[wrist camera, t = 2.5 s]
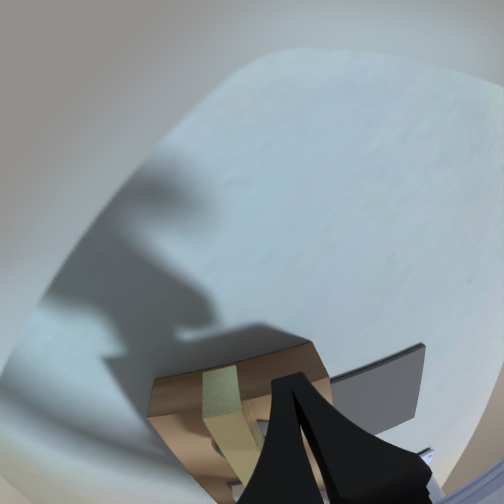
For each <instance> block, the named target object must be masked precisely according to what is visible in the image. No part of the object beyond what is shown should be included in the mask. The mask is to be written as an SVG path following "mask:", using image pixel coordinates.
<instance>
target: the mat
mask: <svg viewBox="0 0 504 504" xmlns="http://www.w3.org/2000/svg"><path fill="white" fill-rule="evenodd" d="M425 349H426V346H425V345H424V344H422V345H420V346H418V347H416V348H414V349H411V350H409V351H407V352H405V353H402V354H400V355H398V356H395V357H393V358H390V359H388V360H386V361H383V362H381V363H378V364H376V365H373V366H371V367H368V368H365V369H363V370H360V371H357V372H355V373H352V374H349V375H346V376H344V377H341V378H338V379H335V380H332V381H330V386H331V395H332V404H333V407H334V408H335V409H337V410H338V411H339V412H340V413H341V414H343V415H344V416H345V417H346V418H348V419H349V420H350V421H352V422H353V423H354V424H356V425H357V426H359V427H360V428H362V429H364V430H365V431H367V432H368V433H370V434H372V435H376V434H378V433H381V432H383V431H386V430H388V429H390V428H392V427H395V426H397V425H399V424H401V423H403V422H405V421H408V420H410V419H412V418H414V416H415V411H416V406H417V401H418V395H419V390H420V384H421V378H422V371H423V364H424V357H425Z"/></svg>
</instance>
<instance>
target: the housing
mask: <svg viewBox="0 0 504 504" xmlns="http://www.w3.org/2000/svg"><path fill="white" fill-rule="evenodd" d="M234 365H236V367H237V370H238V372H239V375H240V378H241V380H242V383H243V386H244V388H245V391H246V394H247V396H248V399H249V401H250V404H251V407H252V409H253V412H254V414H255V417H256V419H257V422H258V424H259V427H260V429H261V432H262V434H263V436H264V437H266V432H267V428H268V423H269V417H270V410H271V398H272V390H271V381H272V380H273V379H276V378H280V377H283V376H287V375H290V374H294V373H297V372H303V373H304V374H305V375H306V377H307V378H308V380H309V381H310V382H311V384H312V385H313V386H314V387H315V388H316V390H317V391H318V392H319V393H320V394H321V395H322V396H323V397H324V398H325V399H326V400H327V401H328V402H329V403H330V404H331V405H332V406H333V404H332V395H331V386H330V378H329V375H328V373H327V371H326V369H325V367H324V365H323V363H322V361H321V359H320V357H319V355H318V353H317V351H316V349H315V347H314V345H313V343H312V342H309V343H305V344H302V345H299V346H295V347H292V348H288V349H285V350H281V351H278V352H274V353H271V354H267V355H263V356H259V357H256V358H252V359H248V360H244V361H240V362H236V363H232V364H227V365H223V366H219V367H214V368H210V369H205V370H201V371H196V372H191V373H186V374H181V375H176V376H171V377H165V378H160V379H154V383H153V388H152V393H151V399H150V404H149V409H148V415H147V419H148V420H149V421H150V423H151V424H152V426H153V427H154V428H155V430H156V431H157V432H158V434H159V435H160V436H161V438H162V439H163V440H164V442H165V443H166V444H167V446H168V447H169V448H170V450H171V451H172V452H173V453H174V455H175V456H176V457H177V458H178V460H179V461H180V462H181V463H182V464H183V466H184V467H185V468H186V469H187V470H188V472H189V473H190V474H191V475H192V476H193V477H194V479H195V480H196V481H197V482H198V483H199V484H200V485H201V486H202V487H203V489H204V490H205V491H206V492H207V493H208V494H209V495H210V496H211V497H212V498H213V499H214V500H215V501H216V502H217V503H218V504H236V501H235V500H234V499H233V493H232V486H234V485H240V484H243V483H242V482H241V480H240V479H239V477H238V476H237V474H236V473H235V471H234V470H233V468H232V467H231V465H230V464H229V462H228V461H227V459H226V457H225V456H224V454H223V453H222V451H221V449H220V448H219V446H218V445H217V443H216V441H215V440H214V438H213V436H212V435H211V433H210V431H209V430H208V428H207V426H206V424H205V423H204V421H203V419H202V396H203V372H208V371H212V370H217V369H221V368H226V367H230V366H234ZM300 427H301V426H300ZM301 432H302V437H303V443H304V447H305V450H306V453H307V456H308V459H309V462H310V465H311V468H312V471H313V474H314V477H315V479H316V482H317V485H318V488H319V491H323V490H326V489H325V485H324V482H323V479H322V476H321V473H320V470H319V467H318V465H317V462H316V460H315V458H314V456H313V453H312V451H311V449H310V447H309V444H308V442H307V440H306V438H305V435H304V433H303V431H302V428H301Z"/></svg>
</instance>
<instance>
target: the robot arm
mask: <svg viewBox="0 0 504 504" xmlns="http://www.w3.org/2000/svg"><path fill="white" fill-rule="evenodd" d="M271 390H272V398H271V410H270V417H269V423H268V428H267V432H266V437H265V441H264V444H263V447H262V451H261V454H260V456H259V459H258V462H257V464H256V467H255V469H254V471H253V474H252V476H251V478H250V480H249V482H248V484H247V486H246V487H245V489H244V491H243V493H242V495H241V496H240V498H239V499H238V501H237V502H236V504H324V502H323V499H322V497H321V494H320V491H319V488H318V485H317V482H316V479H315V477H314V474H313V471H312V468H311V465H310V462H309V459H308V456H307V453H306V450H305V447H304V443H303V437H302V432H301V428H302V431H303V433H304V435H305V438H306V440H307V442H308V444H309V447H310V449H311V451H312V453H313V456H314V458H315V460H316V462H317V465H318V467H319V470H320V473H321V476H322V479H323V482H324V485H325V489H326V492H327V495H328V498H329V501H330V504H504V457H502V458H501V459H500V460H499V461H497V462H496V463H495V464H493V465H492V466H491V467H489V468H488V469H487V470H485V471H484V472H482V473H481V474H480V475H478V476H477V477H476V478H474V479H472V480H471V481H469V482H468V483H466V484H465V485H463V486H462V487H460V488H459V489H457V490H456V491H454V492H452V493H450V494H449V495H447V496H445V495H444V493H443V491H442V490H441V488H440V486H439V485H438V483H437V481H436V479H435V478H434V476H433V474H432V471H431V469H430V467H429V466H428V465H429V463H430V461H431V459H432V456H433V454H434V450H433V449H431V450H429V451H427V452H425V453H423V454H421V455H418V454H416V453H413V452H410V451H407V450H404V449H402V448H399V447H397V446H394V445H392V444H390V443H387V442H385V441H383V440H381V439H380V438H378V437H376V436H374V435H372V434H370V433H368V432H367V431H365V430H364V429H362V428H360V427H359V426H357V425H356V424H354V423H353V422H352V421H350V420H349V419H348V418H346V417H345V416H344V415H343V414H341V413H340V412H339V411H338V410H337V409H335V408H334V407H333V406H332V405H331V404H330V403H329V402H328V401H327V400H326V399H325V398H324V397H323V396H322V395H321V394H320V393H319V392H318V391H317V390H316V388H315V387H314V386H313V385H312V384H311V382H310V381H309V380H308V378H307V377H306V375H305V374H304V373H303V372H297V373H294V374H290V375H287V376H283V377H280V378H276V379H273V380H272V381H271ZM300 426H301V427H300Z"/></svg>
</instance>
